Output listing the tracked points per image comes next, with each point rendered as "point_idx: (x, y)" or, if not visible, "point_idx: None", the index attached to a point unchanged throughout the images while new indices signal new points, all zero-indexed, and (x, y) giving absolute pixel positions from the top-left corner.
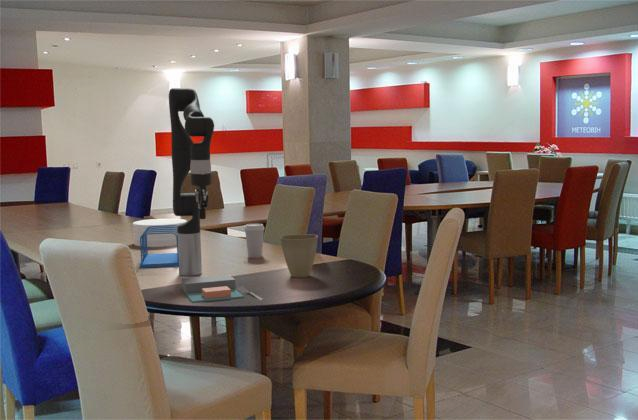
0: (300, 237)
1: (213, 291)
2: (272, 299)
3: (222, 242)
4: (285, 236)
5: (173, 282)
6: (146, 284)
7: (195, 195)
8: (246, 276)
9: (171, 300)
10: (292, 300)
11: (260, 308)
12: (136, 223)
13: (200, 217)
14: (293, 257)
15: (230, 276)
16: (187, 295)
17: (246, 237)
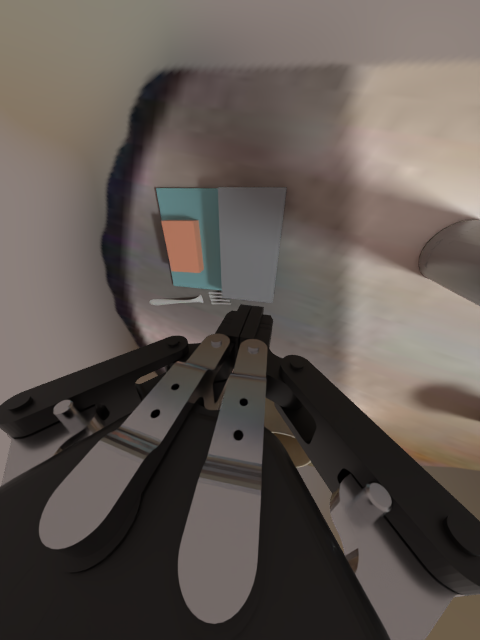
0: (304, 457)
1: (165, 238)
2: (156, 313)
3: None
4: None
5: (382, 181)
6: (426, 70)
7: (444, 491)
8: (325, 340)
9: (184, 139)
10: (147, 330)
11: (111, 283)
12: None
13: (239, 310)
14: None
15: (252, 299)
16: (208, 188)
17: None
